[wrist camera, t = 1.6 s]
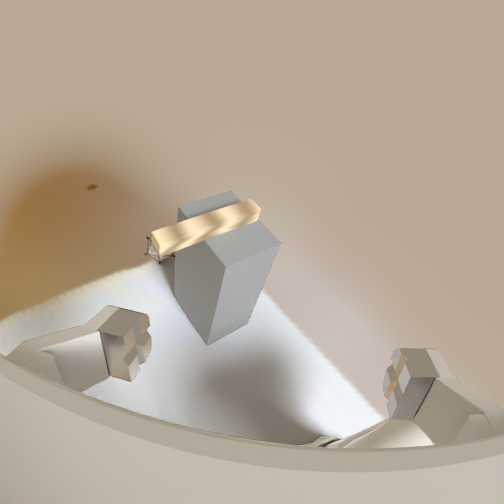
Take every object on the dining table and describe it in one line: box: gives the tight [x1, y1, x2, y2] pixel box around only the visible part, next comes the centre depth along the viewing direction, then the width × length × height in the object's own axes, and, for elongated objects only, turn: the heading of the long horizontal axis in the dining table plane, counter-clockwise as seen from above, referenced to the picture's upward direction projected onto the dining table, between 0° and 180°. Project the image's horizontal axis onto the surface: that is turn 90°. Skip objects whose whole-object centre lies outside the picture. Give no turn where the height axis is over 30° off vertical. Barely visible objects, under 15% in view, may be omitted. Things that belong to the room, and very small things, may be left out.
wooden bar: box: [151, 199, 261, 257], centre depth 54 cm, size 20×3×3 cm, turn 127°
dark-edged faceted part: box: [145, 237, 175, 265], centre depth 84 cm, size 9×8×10 cm
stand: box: [174, 191, 281, 345], centre depth 68 cm, size 12×16×30 cm
